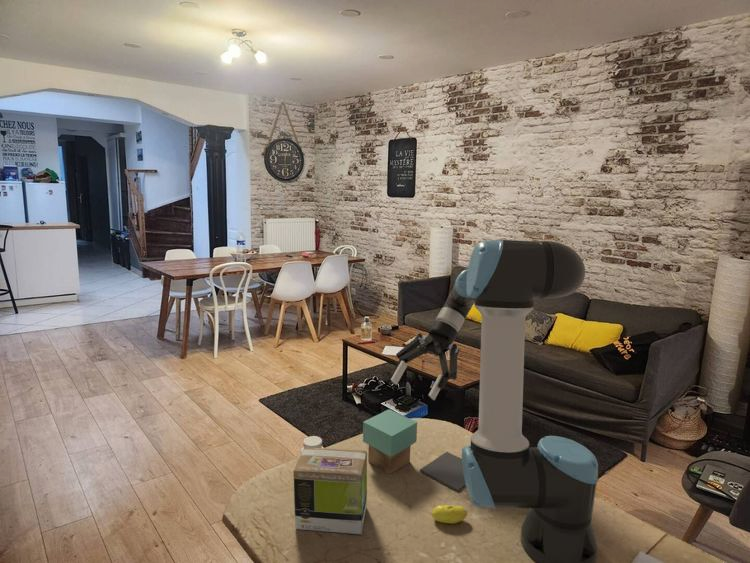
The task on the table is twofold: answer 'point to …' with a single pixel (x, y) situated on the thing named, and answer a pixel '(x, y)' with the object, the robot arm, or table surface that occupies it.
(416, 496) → the table surface
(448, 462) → the rubber mat
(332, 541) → the table surface
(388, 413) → the teal square block
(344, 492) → the tea box
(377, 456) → the walnut box
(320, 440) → the pill bottle
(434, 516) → the yellow oblong rounded piece
